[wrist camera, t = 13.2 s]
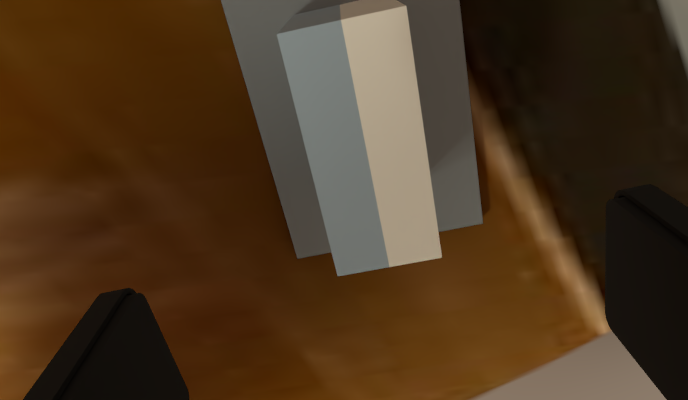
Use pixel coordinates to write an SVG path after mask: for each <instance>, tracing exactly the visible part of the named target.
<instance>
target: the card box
mask: <svg viewBox="0 0 688 400" xmlns="http://www.w3.org/2000/svg"><path fill="white" fill-rule="evenodd" d="M277 37H278V41H279V45H280V49H281V53H282V57H283V61H284V65H285V69H286V73H287V77H288V81H289V85H290V89H291V93H292V97H293V101H294V105H295V109H296V113H297V117H298V121H299V125H300V129H301V133H302V137H303V141H304V145H305V149H306V153H307V157H308V161H309V165H310V169H311V173H312V177H313V180H314V184H315V188H316V192H317V196H318V200H319V204H320V208H321V212H322V216H323V220H324V224H325V228H326V232H327V236H328V240H329V244H330V248H331V252H332V256H333V260H334V264H335V268H336V272H337V276H343V275H349V274H354V273H360V272H365V271H371V270H376V269H382V268H387V267H393V266H399V265H404V264H410V263H415V262H421V261H426V260H432V259H437V258H442V254H441V247H440V240H439V233H438V226H437V219H436V211H435V204H434V197H433V190H432V183H431V176H430V169H429V162H428V155H427V148H426V141H425V134H424V127H423V120H422V113H421V106H420V99H419V92H418V85H417V77H416V70H415V63H414V56H413V49H412V42H411V35H410V28H409V21H408V14H407V7H406V5H404V4H402V3H401V2H399V1H397V0H358V1H354V2H349V3H345V4H340V5H336V6H331V7H327V8H322V9H318V10H313V11H309V12H304V13H300V14H295V15H294V16H293V17H292V18H291V19H290V20H289V21H288V22H287V23H286V24H285V26H284V27H283V28H282V29H281V30H280V31H279V32H278V33H277Z"/></svg>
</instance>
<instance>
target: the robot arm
mask: <svg viewBox="0 0 688 400" xmlns="http://www.w3.org/2000/svg"><path fill="white" fill-rule="evenodd" d="M605 314H606V319H607V322H608V324H609V326H610V328H611V330H612V331H613V333H614V334H615V335H616V336H617V337H618V339H619V340H620V341H621V343H622V344H623V345H624V346H625V348H626V349H627V350H628V351H629V353H630V354H631V355H632V356H633V358H634V359H635V360H636V362H637V363H638V364H639V365H640V367H641V368H642V369H643V370H644V372H645V373H646V374H647V375H648V377H649V378H650V379H651V380H652V382H653V383H654V384H655V385H656V387H657V388H658V389H659V390H660V391H661V393H662V394H663V395H664V397H665V398H666V399H667V400H688V207H686V206H685V205H683V204H682V203H680V202H679V201H677V200H676V199H674V198H672V197H671V196H669V195H668V194H666V193H665V192H663V191H662V190H660V189H659V188H657V187H655V186H653V185H651V184H649V185H643V186H638V187H633V188H628V189H623V190H618V191H617V192H616V194H615V196H614V199H611V200H609V201H608V202H607V204H606V272H605ZM23 400H189V393H188V389H187V387H186V385H185V382H184V380H183V378H182V376H181V374H180V372H179V369H178V367H177V365H176V363H175V361H174V359H173V356H172V354H171V352H170V350H169V348H168V345H167V343H166V341H165V339H164V337H163V335H162V332H161V330H160V328H159V326H158V324H157V322H156V319H155V317H154V315H153V313H152V311H151V309H150V306H149V304H148V302H147V300H146V298H145V296H144V295H143V294H141V293H136V292H135V291H134V290H133V289H131V288H126V289H121V290H116V291H111V292H106V293H102V294H100V295H99V296H98V297H97V298H96V300H95V301H94V302H93V304H92V305H91V306H90V308H89V309H88V311H87V312H86V313H85V315H84V316H83V318H82V319H81V320H80V322H79V323H78V324H77V326H76V327H75V329H74V330H73V331H72V333H71V334H70V335H69V337H68V338H67V340H66V341H65V342H64V344H63V345H62V346H61V348H60V349H59V351H58V352H57V353H56V355H55V356H54V357H53V359H52V360H51V362H50V363H49V364H48V366H47V367H46V369H45V370H44V371H43V373H42V374H41V375H40V377H39V378H38V380H37V381H36V382H35V384H34V385H33V386H32V388H31V389H30V391H29V392H28V393H27V395H26V396H25V397H24V399H23Z"/></svg>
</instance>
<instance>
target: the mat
mask: <svg viewBox="0 0 688 400" xmlns="http://www.w3.org/2000/svg"><path fill="white" fill-rule="evenodd" d="M354 1H358V0H221V2H222V6H223V9H224V12H225V16H226V19H227V23H228V26H229V29H230V33H231V36H232V39H233V43H234V46H235V50H236V53H237V56H238V60H239V63H240V66H241V70H242V73H243V77H244V80H245V83H246V87H247V90H248V93H249V97H250V100H251V104H252V107H253V110H254V114H255V117H256V120H257V124H258V127H259V131H260V134H261V137H262V141H263V144H264V147H265V151H266V154H267V158H268V161H269V164H270V168H271V171H272V174H273V178H274V181H275V185H276V188H277V191H278V195H279V198H280V201H281V205H282V208H283V212H284V215H285V218H286V222H287V225H288V228H289V232H290V235H291V239H292V242H293V245H294V249H295V252H296V255H297V259H299V258H304V257H310V256H315V255H320V254H325V253H331V248H330V244H329V240H328V236H327V232H326V228H325V224H324V220H323V216H322V212H321V208H320V204H319V200H318V196H317V192H316V188H315V184H314V180H313V177H312V173H311V169H310V165H309V161H308V157H307V153H306V149H305V145H304V141H303V137H302V133H301V129H300V125H299V121H298V117H297V113H296V109H295V105H294V101H293V97H292V93H291V89H290V85H289V81H288V77H287V73H286V69H285V65H284V61H283V57H282V53H281V49H280V45H279V41H278V37H277V33H278V32H279V31H280V30H281V29H282V28H283V27H284V26H285V24H286V23H287V22H288V21H289V20H290V19H291V18H292V17H293V16H294V15H295V14H300V13H304V12H309V11H313V10H318V9H322V8H327V7H331V6H336V5H340V4H345V3H349V2H354ZM397 1H399V2H401V3H402V4H404V5H406V7H407V14H408V21H409V28H410V35H411V42H412V49H413V56H414V63H415V70H416V77H417V85H418V92H419V99H420V106H421V113H422V120H423V127H424V134H425V141H426V148H427V155H428V162H429V169H430V176H431V183H432V190H433V197H434V204H435V211H436V219H437V226H438V232H441V231H446V230H451V229H457V228H462V227H467V226H472V225H478V224H483V219H482V209H481V200H480V190H479V181H478V171H477V162H476V152H475V143H474V133H473V124H472V114H471V105H470V95H469V86H468V76H467V67H466V57H465V48H464V39H463V29H462V20H461V10H460V1H459V0H397Z"/></svg>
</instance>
